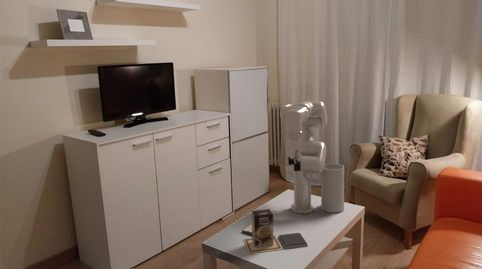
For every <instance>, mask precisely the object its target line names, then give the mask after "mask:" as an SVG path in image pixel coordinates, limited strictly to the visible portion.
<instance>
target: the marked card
mask: <svg viewBox="0 0 482 269" xmlns="http://www.w3.org/2000/svg"><path fill="white" fill-rule="evenodd" d="M243 242H244V244H245V247H246V249H247V252H248V254H249V255H251V254H258V253H267V252H273V251H279V250H280V251H281V250H284V249H283V248H284V247H283V245H282V243H281V242H280V240H279V238H278V237H277V236H276V234H275V235H274V234H273V243H274V245H273V246H265V247H258V248H255V246H254V244H253V242H252V237H251V238H244V239H243Z"/></svg>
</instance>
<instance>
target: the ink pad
mask: <svg viewBox="0 0 482 269" xmlns="http://www.w3.org/2000/svg"><path fill="white" fill-rule="evenodd" d="M277 239H278V240H279V242H280V244H281V246H282V247H283V248H284V250H288V249H296V248H303V247H308V246H309V245H308V243H307V241H306V240H305V238H304V236H303V234H301V233H300V232H294V233H286V234H279V235H278V237H277Z"/></svg>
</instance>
